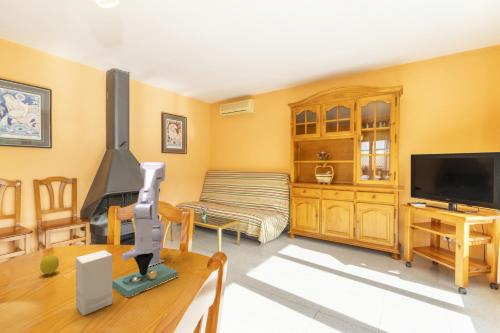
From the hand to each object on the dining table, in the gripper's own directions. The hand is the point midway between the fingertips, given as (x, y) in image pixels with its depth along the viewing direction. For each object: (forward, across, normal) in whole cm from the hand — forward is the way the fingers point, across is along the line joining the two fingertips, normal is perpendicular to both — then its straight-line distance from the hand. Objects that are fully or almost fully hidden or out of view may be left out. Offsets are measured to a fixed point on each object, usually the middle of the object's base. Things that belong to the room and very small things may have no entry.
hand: (143, 274), depth 89 cm
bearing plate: (+3, +1, 0) cm, 4 cm away
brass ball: (-1, +1, -4) cm, 4 cm away
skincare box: (+4, -17, -2) cm, 17 cm away
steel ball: (+2, -2, 0) cm, 3 cm away
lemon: (+4, -19, +34) cm, 39 cm away
